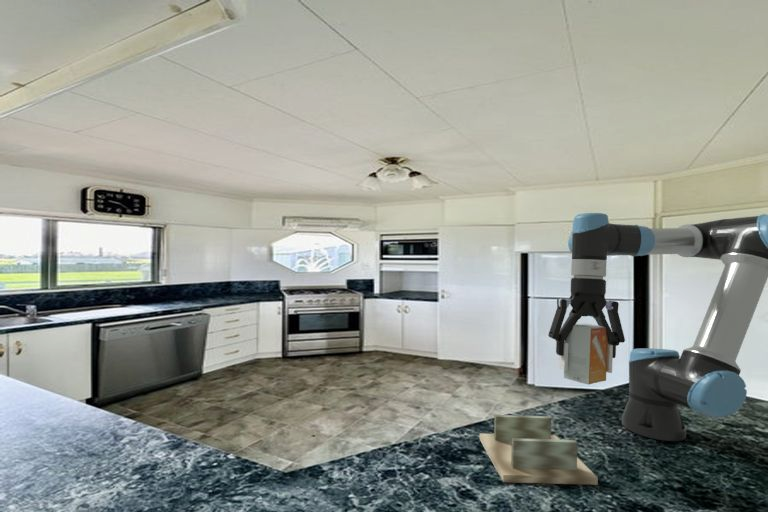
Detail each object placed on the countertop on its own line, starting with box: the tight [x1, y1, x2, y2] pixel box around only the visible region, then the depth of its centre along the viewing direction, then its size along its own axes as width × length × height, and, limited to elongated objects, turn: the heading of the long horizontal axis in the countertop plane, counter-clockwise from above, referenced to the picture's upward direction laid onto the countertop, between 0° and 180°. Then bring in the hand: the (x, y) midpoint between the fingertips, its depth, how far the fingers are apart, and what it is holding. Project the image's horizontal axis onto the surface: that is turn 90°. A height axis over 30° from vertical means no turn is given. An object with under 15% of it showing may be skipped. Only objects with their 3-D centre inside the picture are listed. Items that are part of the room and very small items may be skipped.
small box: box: [563, 322, 608, 385], centre depth 92 cm, size 8×6×13 cm
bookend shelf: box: [479, 414, 599, 486], centre depth 91 cm, size 20×20×8 cm
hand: (585, 370), depth 92 cm, fingers closed on small box, 10 cm apart
